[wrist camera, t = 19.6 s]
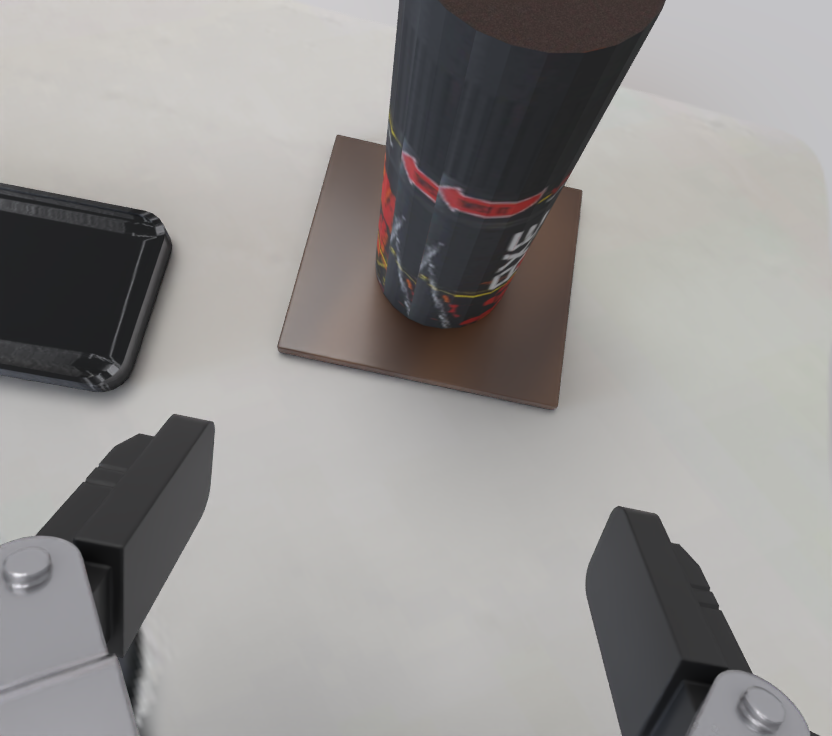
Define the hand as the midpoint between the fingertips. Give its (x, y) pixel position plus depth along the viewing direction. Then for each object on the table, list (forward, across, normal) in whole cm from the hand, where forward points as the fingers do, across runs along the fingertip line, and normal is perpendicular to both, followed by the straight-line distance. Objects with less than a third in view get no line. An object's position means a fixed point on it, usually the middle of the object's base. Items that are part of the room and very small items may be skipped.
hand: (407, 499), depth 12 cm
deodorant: (+17, 0, 0) cm, 17 cm away
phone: (+14, +19, +4) cm, 24 cm away
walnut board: (+18, 0, 0) cm, 18 cm away
